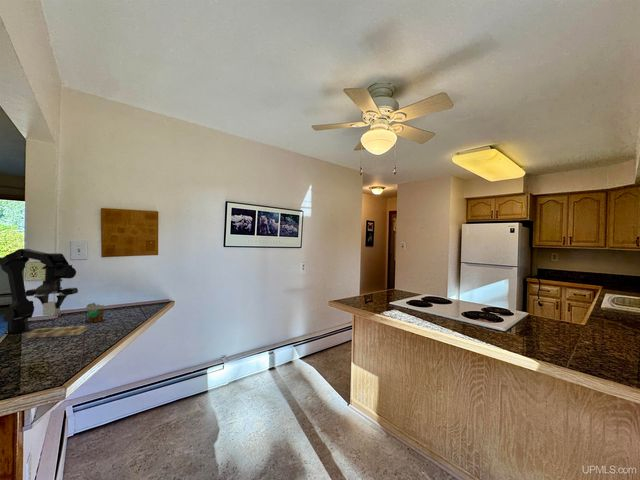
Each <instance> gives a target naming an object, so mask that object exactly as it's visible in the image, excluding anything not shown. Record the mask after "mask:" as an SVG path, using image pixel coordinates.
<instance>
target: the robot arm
mask: <svg viewBox="0 0 640 480" xmlns="http://www.w3.org/2000/svg"><path fill="white" fill-rule="evenodd" d="M30 259H32V260H35V261H39V262H40V263H41V264H43V265H44V266H43V267H42V268H41V270H45V271H44V273H45V275H44V280H43V281H42V284H41V285H39V286H38V287H37V288H32V289H28V290H26V287H25V281H24V277H23V272H24V270H25V268H26V263H27V262H29V261H30ZM0 267H1V270H2V271H3V272H4V273H6V275H7V277H8V284H9V289H10V295H11V299H12V300H11V303H10V305H9V307H8V312H7V313H6V314H5V315H4V316H3V317H2V319H3V322H5V323H6V322H7V331H6V332H4V334H5V335H7V334H21V333H23V332H27V331H29V330H30V328H29V326H30V325H29V324H30V321H29V319H31V318H32V317H33V315H34V312H35V306H34V301H33V300H29V299H28V298H27V297H34V298H36V299H38V300H39V301H40V303H41V305H42V306H43V303H46V302H49V295H50V294H52V295H53V294H57V295H55V296H56V299H57V300H56V301H57V309H58V308H60V309H61V306H62V304H63V302H64V301H65V299H66V298H67V296H69V295H74V294H78V293H79V290H78V288H77V287H66V288H63V287H62V286H61V285H62V284H61V283H62V282H63V279H69V280H71V279H73V278H74V277H75V276H76V275H77V271H76V269H75V268H74V267H73V264H69V261H67V259H66V257H65V256H64V254H63V253H59V252H58V253H57V252H55V253H52V252H51V253H47V252H44V251H43V252H42V251H38V250H33V249H30V248H18V249H16V250H15V251H13V252H10V253H9V254H6V255H5V256H4V257H2V258H1V259H0ZM7 332H8V333H7ZM6 333H7V334H6Z"/></svg>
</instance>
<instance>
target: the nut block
mask: <svg viewBox="0 0 640 480" xmlns="http://www.w3.org/2000/svg"><path fill="white" fill-rule="evenodd" d="M60 313H61V307H60V308H58V309H57V300H51V301H48V302H46V303H43V305H42V316H55V315H58V314H60Z"/></svg>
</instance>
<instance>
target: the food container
mask: <svg viewBox="0 0 640 480" xmlns="http://www.w3.org/2000/svg"><path fill="white" fill-rule="evenodd" d="M85 309H86V313H87V323H89V324H95V323H103V321H104V311H105V305H104V304H101V305H100V304H96V303H95V302H92V303H89V304H88V303H87V304H86V307H85Z"/></svg>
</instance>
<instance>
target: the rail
mask: <svg viewBox="0 0 640 480" xmlns="http://www.w3.org/2000/svg"><path fill="white" fill-rule="evenodd" d="M88 330H89V328H88V325H81V326H79V325H78V326H64V327H63V326H62V327H60V326H59V327H46V328H36V329H33V330H32V331H30V332H27V333H26V334H24V339H25V338H26V339H36V338H35V337H40V338H51V337H52V338H53V337H65V336H79V335H81V334H83V333H84V332H86V331H88Z"/></svg>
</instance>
